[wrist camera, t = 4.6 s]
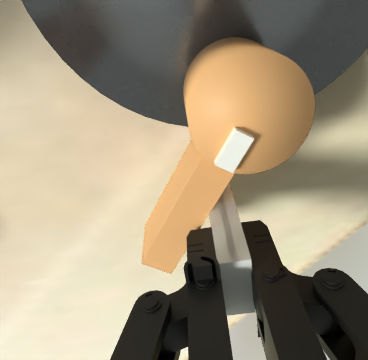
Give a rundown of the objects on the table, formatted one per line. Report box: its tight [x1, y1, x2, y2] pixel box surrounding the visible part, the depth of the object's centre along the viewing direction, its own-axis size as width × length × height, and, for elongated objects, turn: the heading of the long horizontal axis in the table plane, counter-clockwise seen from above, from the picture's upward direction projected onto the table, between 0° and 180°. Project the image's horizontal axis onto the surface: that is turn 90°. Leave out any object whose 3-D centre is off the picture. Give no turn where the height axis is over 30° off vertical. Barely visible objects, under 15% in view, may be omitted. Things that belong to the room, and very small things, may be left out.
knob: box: [142, 37, 315, 274], centre depth 16 cm, size 11×5×5 cm, turn 153°
